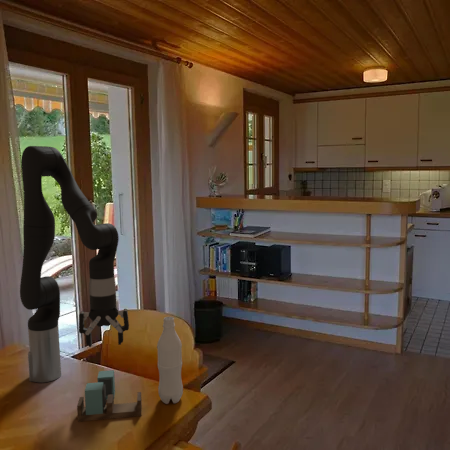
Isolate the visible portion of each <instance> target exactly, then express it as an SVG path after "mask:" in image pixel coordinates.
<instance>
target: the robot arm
mask: <svg viewBox="0 0 450 450" xmlns="http://www.w3.org/2000/svg"><path fill="white" fill-rule="evenodd" d="M20 161H21V162H20V163H21V179H22V187H23V189H22V190H23V222H22V223H23V227H22V229H23V232H22V233H23V235H22V236H23V249H22V250H23V253H22V268H21V275H20V283H19V284H20V285H19V297H20V301H21V304H22V306H23V307H24V308H25V309H27V310H29V311H31V310H32V311H33V310H36V311H35V313H33V315H31V317H29V318H28V320H27V330H28V333H27V334H28V345H29V351H28V353H27V363H28V373H29V375H28V377H29V382H34V383H40V384H41V383H49V382H53V381H54V380H55V381H56V380H57V379H59V378H60V377H61V376H62V365H61V364H62V363H61V349H60V334H59V333H60V331H59V330H60V329H59V319H60V316H61V291H60V287H59V283H58V281H57V280H56V279H55V278H54V277H52V276H48V275H47V276H43V277H42V270H43V266H44V263H45V260H46V259H47V257H48V255H49V253H50V251H51V249H52V247H53V245H54V242H55V239H56V238H55V237H56V217H55V216H54V213H53V211H52V209H51V207H50V206H49V204H48V202H47V200H46V198H45V196H44V194H43V184H42V183H43V182H42V177H52V179H54V180H55V182H56V183H57V184H58V185H59V188H60V197H61V198H60V200H61V204H62V207H63V208H64V210H65V212H66V213H67V214H68V217H70V219H71V220H72V222H74V224H75V227H76V230H77V234H78V235H79V239H80V241H81V242H82V243H81V244H83V246H85V248H87V249H88V250H92V251H96V250H98V251H97V254H96V255H95V256H93V257H91V258H90V259H89V262H88V268H89V269H88V272H89V273H88V274H89V283H88V293H89V309H90V310H89V312H88V311H87V312H86V311H84V310H82V311H81V310H80V313H79V314H78V333H79V334H83V335H85V344H86V345H87V346H88V348H91V347H92V346H93V340H92V339H93V338H92V337H93V336H92V331H93V330H94V329H95V328H96V326H97V327H98V328H99V327H103V326H104V327H110V326H112V328H114V329H115V330H117V343H118V345H119V346H120V345H122V344H123V342H124V332H125V331H129V330H130V324H129V323H130V321H129V313H128V311H129V310H128V309H127V308H124V309H121V310H118V308H117V288H116V287H117V286H116V279H115V277H116V276H115V258H116V255H117V250H118V245H119V233H118V232H119V231H118V229H117V228H116V227H115V225H113V224H112V223H109V222H108V223H107V222H106V223H100V224H94V223H95V221H96V220H97V218H98V211H97V210H96V209H95V208H94V206H93V204H92V203H91V202H90V201H89V199H88V198H87V197H86V196H85V194H84V192H83V191H82V189H80V186H79V185H78V183H77V181H76V179H75V177H74V175H73V173H72V171H71V170H70V169H71V168H70V167H69V166H68V163H67V161H66V160H65V158H64V156H63V154H62V152H60V151H59V150H58V149H57V148H56V147H53V146H42V145H29V146H27V147H25V148H24V149H23V152H22V153H21V159H20ZM118 316H120V318H122V319H123V325H121V324H120V322H119V321H118V319H117V317H118ZM87 317H88V318H90V319H91V322H90V324H89V326H88V327H87V328H86V327H85V321H86V320H87V319H88V318H87Z"/></svg>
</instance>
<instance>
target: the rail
mask: <svg viewBox="0 0 450 450" xmlns="http://www.w3.org/2000/svg"><path fill="white" fill-rule="evenodd" d="M136 396H137V397H136V398H137V399H136V402H126V403H125V402H124V403H115V402H114V399H115V396H114V395H113V394H110V395H108V398H107V400H106V405H105V407H104V410H103V414H93V415H86V407H85V396H79V399H78V400H77V401H78V402H77V405H76V411H77V413H76V414H77V422H87V421H97V420H109V419H110V420H111V419H120V418H121V419H122V418H129V417H130V418H131V417H133V418H134V417H139V416H140V417H142V412H143V411H142V409H143V407H142V406H143V405H142V392H141V391H138V392H137V395H136Z"/></svg>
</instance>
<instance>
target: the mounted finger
mask: <svg viewBox="0 0 450 450" xmlns="http://www.w3.org/2000/svg"><path fill="white" fill-rule="evenodd" d="M106 403H107V400H106V385H105V384H103V382H98V381H97V382H89V383H88V382H87V383H86V385H85V388H84V407H86V415H93V414H103V410H104V407H105V405H106Z"/></svg>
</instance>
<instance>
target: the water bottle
mask: <svg viewBox="0 0 450 450" xmlns="http://www.w3.org/2000/svg"><path fill="white" fill-rule="evenodd" d="M162 324H163V325H162V332H161V334H160V336H159V339H158V341H157V346H156V348H157V368H158V374H159V375H158V376H159V382H158V396H159V398H160V400H161V402H162V403H163V404H166V405H168V404H169V403H170V401H172V403H173V404H177V403H179V401H180V400H181V398H182V396H183V393H184V386H183V381H182V367H183V359H182V358H183V356H182V355H183V354H182V353H183V352H182V347H183V345H182V340H181V339H180V337H179V335H178V333H177V331H176V329H175V327H176V323H175V318H174V316H165V317H164V318H163V323H162Z"/></svg>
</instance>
